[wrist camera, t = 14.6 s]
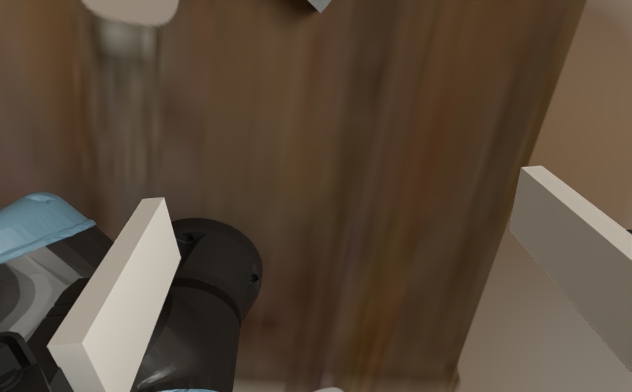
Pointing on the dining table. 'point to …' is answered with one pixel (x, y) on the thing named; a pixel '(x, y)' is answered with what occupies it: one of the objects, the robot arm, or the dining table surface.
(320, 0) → the tray
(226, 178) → the dining table surface
